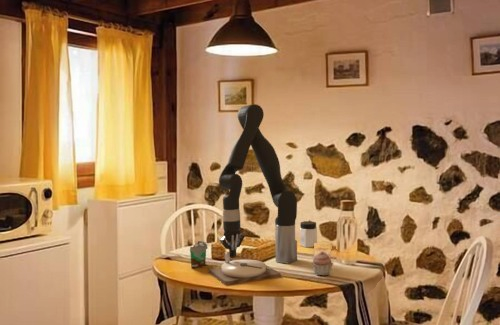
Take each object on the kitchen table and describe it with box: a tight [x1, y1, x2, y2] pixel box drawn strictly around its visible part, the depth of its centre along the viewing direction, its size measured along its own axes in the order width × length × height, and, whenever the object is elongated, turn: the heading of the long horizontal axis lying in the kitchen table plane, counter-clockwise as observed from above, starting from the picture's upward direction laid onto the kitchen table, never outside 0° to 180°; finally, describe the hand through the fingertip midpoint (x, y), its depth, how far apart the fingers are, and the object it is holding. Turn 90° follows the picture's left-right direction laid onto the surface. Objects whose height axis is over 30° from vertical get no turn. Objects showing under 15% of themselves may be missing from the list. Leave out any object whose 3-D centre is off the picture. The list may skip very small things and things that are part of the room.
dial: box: [221, 251, 267, 278], centre depth 233 cm, size 19×19×7 cm
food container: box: [189, 240, 209, 269], centre depth 248 cm, size 12×6×10 cm, turn 168°
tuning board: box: [207, 264, 282, 286], centre depth 233 cm, size 25×20×2 cm
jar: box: [299, 220, 318, 248], centre depth 282 cm, size 9×8×12 cm
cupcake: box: [310, 250, 334, 276], centre depth 232 cm, size 9×9×10 cm
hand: (232, 257), depth 240 cm, fingers closed
